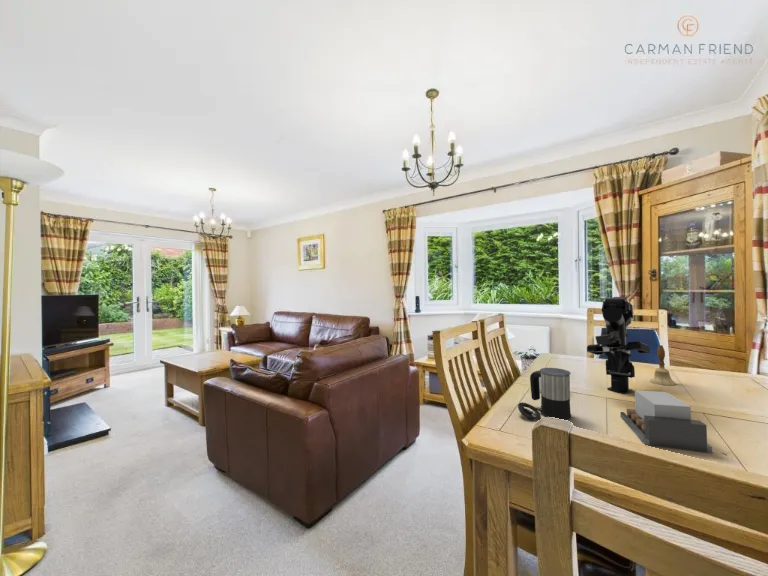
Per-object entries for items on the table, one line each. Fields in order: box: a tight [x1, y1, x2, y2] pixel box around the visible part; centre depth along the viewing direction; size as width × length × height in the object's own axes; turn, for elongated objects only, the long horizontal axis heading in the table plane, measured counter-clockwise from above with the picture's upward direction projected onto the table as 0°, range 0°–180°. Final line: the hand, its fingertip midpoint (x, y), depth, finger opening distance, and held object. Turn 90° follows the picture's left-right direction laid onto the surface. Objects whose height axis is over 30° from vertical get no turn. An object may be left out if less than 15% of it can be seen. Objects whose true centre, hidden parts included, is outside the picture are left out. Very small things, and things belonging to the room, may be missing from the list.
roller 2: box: [631, 414, 642, 425], centre depth 96 cm, size 11×3×3 cm, turn 69°
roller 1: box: [626, 408, 636, 420], centre depth 100 cm, size 11×3×3 cm, turn 69°
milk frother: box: [517, 367, 572, 420], centre depth 107 cm, size 14×16×15 cm
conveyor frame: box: [620, 411, 713, 454], centre depth 92 cm, size 19×14×7 cm
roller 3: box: [635, 419, 644, 431], centre depth 92 cm, size 11×3×3 cm, turn 69°
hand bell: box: [649, 344, 677, 386], centre depth 136 cm, size 8×8×16 cm
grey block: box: [634, 390, 692, 420], centre depth 92 cm, size 12×8×7 cm, turn 162°
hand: (617, 372), depth 113 cm, fingers closed
